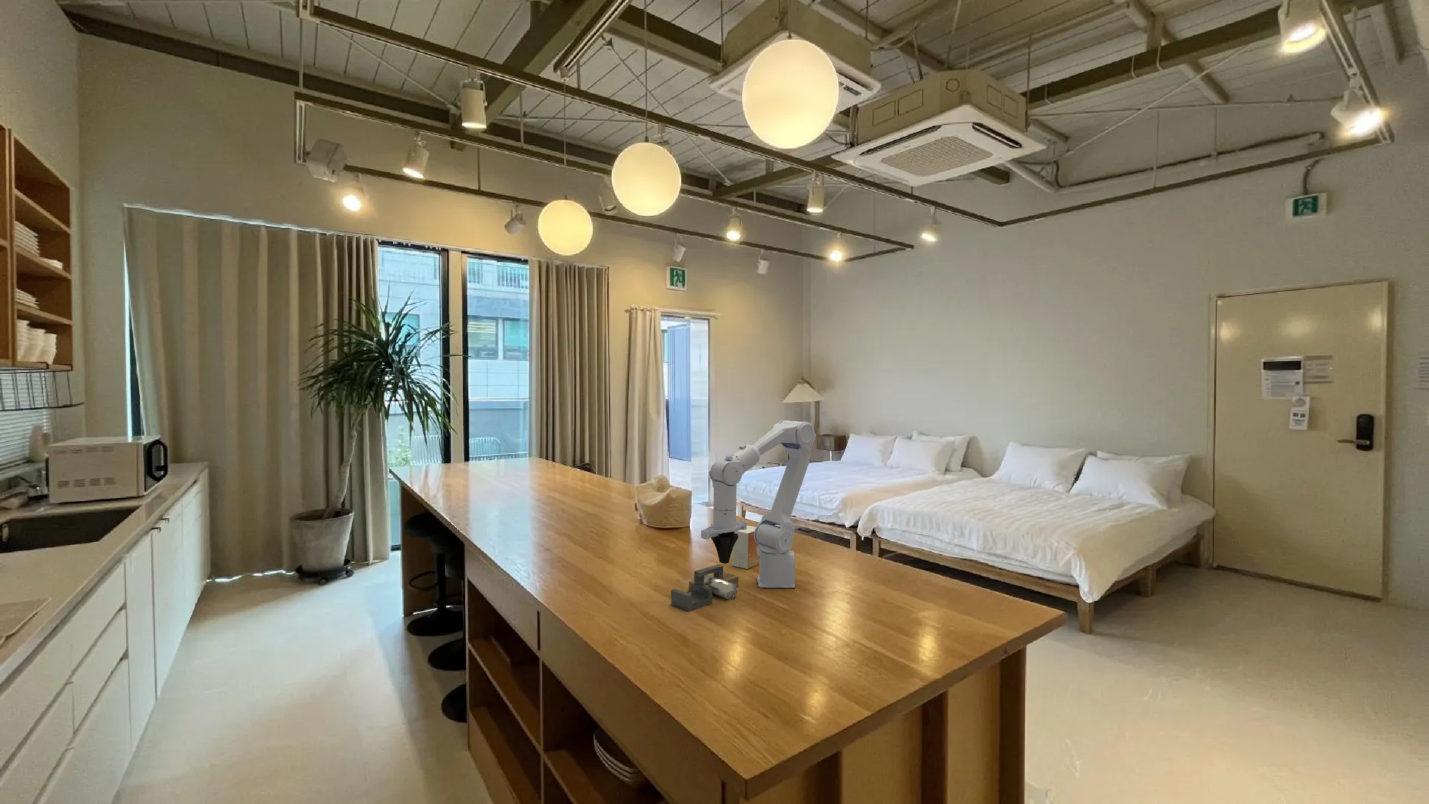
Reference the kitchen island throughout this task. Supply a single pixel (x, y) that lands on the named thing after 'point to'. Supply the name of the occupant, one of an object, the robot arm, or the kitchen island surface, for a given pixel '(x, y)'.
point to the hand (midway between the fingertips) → (724, 562)
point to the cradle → (692, 597)
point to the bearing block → (717, 573)
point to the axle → (721, 587)
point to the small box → (745, 549)
